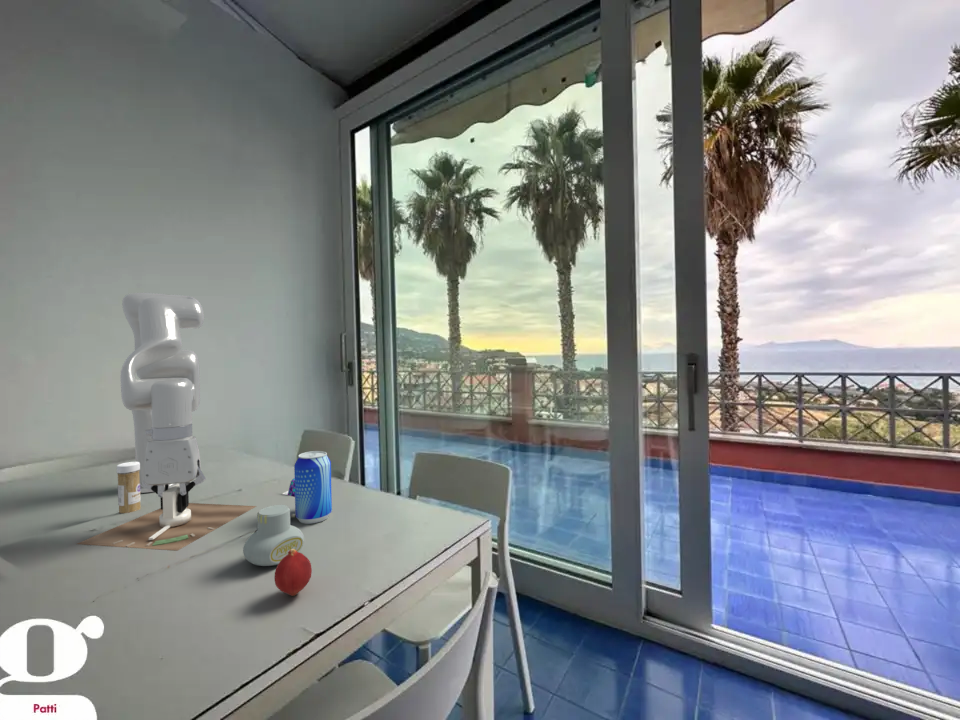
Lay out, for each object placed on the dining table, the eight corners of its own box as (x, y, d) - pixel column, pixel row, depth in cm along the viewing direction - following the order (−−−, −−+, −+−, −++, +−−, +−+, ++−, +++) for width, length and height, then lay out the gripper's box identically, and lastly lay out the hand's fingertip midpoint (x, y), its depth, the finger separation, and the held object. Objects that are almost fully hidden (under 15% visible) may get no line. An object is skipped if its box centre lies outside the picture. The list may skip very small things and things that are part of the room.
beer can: (339, 514, 106) (337, 451, 105) (313, 527, 98) (311, 460, 98) (314, 509, 109) (313, 448, 109) (287, 521, 102) (286, 456, 101)
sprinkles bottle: (140, 516, 106) (138, 463, 106) (116, 520, 103) (114, 466, 103) (142, 510, 110) (140, 460, 109) (119, 514, 107) (118, 462, 107)
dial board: (174, 507, 111) (174, 501, 111) (256, 511, 108) (256, 505, 108) (76, 550, 88) (75, 543, 88) (177, 557, 84) (177, 549, 84)
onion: (282, 586, 74) (281, 541, 74) (316, 584, 74) (315, 539, 74) (269, 606, 68) (268, 557, 68) (305, 604, 69) (304, 556, 68)
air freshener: (259, 577, 77) (258, 523, 77) (235, 565, 81) (234, 514, 81) (311, 552, 86) (310, 504, 86) (287, 543, 90) (286, 497, 90)
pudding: (277, 506, 113) (277, 487, 112) (281, 492, 124) (280, 475, 124) (324, 500, 117) (324, 481, 117) (324, 487, 128) (324, 470, 128)
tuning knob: (168, 517, 100) (167, 484, 100) (196, 515, 101) (195, 483, 101) (135, 541, 88) (133, 503, 88) (166, 538, 89) (165, 501, 89)
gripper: (122, 438, 91) (125, 521, 92) (206, 434, 96) (208, 513, 96) (140, 432, 99) (142, 509, 99) (217, 428, 103) (219, 502, 103)
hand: (175, 510), depth 98 cm, fingers closed on tuning knob, 2 cm apart
